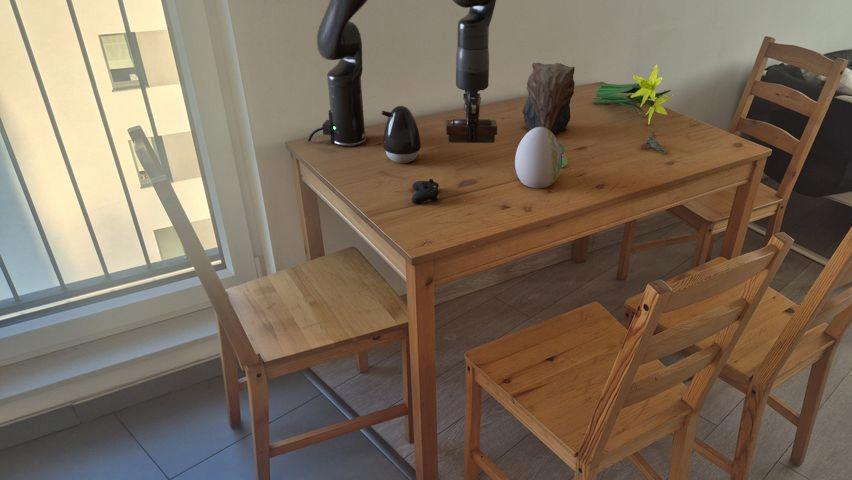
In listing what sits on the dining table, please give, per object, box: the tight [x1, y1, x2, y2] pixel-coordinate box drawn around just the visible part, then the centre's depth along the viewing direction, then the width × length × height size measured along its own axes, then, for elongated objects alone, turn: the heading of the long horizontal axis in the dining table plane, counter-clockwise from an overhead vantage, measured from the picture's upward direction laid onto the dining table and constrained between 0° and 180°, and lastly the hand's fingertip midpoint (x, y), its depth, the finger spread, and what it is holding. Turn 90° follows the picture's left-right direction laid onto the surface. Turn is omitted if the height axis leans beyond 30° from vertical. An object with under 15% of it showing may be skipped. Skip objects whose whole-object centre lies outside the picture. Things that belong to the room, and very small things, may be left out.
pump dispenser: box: [380, 105, 422, 164], centre depth 185 cm, size 10×10×15 cm
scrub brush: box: [445, 118, 498, 144], centre depth 162 cm, size 12×4×5 cm, turn 96°
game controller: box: [411, 178, 440, 204], centre depth 169 cm, size 10×5×6 cm
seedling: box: [559, 142, 568, 168], centre depth 191 cm, size 7×8×7 cm
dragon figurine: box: [639, 129, 667, 155], centre depth 202 cm, size 7×7×8 cm
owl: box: [522, 62, 576, 137], centre depth 209 cm, size 13×13×20 cm
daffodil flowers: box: [592, 63, 674, 126], centre depth 225 cm, size 17×15×35 cm
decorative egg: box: [514, 127, 563, 189], centre depth 176 cm, size 12×12×15 cm
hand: (471, 137), depth 163 cm, fingers closed on scrub brush, 4 cm apart
